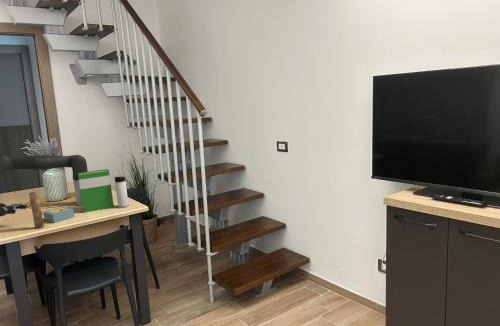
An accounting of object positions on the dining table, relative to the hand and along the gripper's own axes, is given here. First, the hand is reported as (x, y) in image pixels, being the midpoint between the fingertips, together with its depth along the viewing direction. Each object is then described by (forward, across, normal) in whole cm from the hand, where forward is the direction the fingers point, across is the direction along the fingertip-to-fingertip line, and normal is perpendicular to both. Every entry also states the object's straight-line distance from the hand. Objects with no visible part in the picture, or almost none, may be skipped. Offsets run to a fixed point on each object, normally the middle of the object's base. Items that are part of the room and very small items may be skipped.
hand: (20, 209), depth 207 cm
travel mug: (+42, +36, +11) cm, 56 cm away
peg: (+10, 0, +11) cm, 15 cm away
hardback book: (+26, +33, +11) cm, 44 cm away
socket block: (+12, +15, +11) cm, 22 cm away
